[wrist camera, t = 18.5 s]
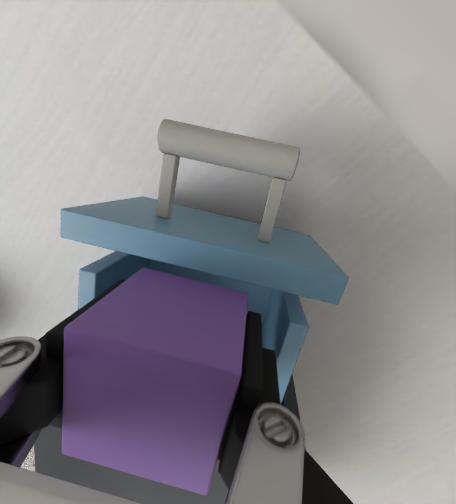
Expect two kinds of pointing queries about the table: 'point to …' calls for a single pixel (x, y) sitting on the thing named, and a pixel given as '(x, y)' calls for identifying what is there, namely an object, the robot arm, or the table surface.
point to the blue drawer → (214, 239)
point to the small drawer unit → (122, 483)
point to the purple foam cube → (154, 377)
